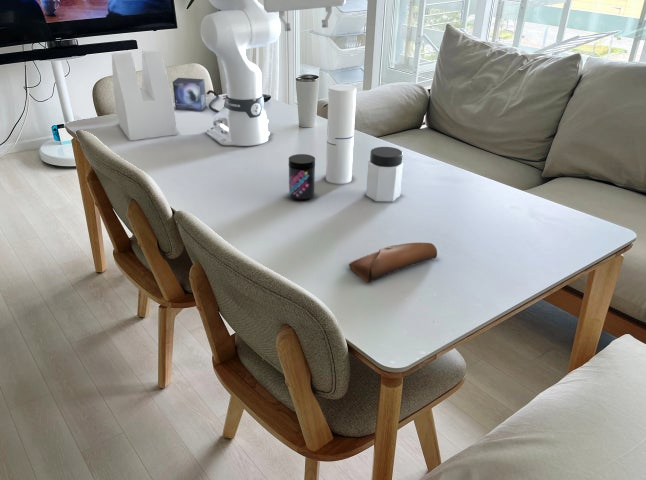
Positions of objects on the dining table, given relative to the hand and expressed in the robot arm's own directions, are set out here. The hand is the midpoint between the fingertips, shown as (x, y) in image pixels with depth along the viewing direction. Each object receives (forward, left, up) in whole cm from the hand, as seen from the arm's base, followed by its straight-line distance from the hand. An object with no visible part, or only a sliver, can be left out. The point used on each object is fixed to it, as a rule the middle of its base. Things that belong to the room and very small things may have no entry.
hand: (306, 29), depth 148 cm
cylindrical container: (+9, +4, -38) cm, 40 cm away
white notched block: (-65, -16, -38) cm, 77 cm away
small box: (-78, +9, -38) cm, 87 cm away
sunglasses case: (+51, -20, -38) cm, 67 cm away
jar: (+25, +5, -38) cm, 46 cm away
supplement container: (+12, -12, -38) cm, 42 cm away
